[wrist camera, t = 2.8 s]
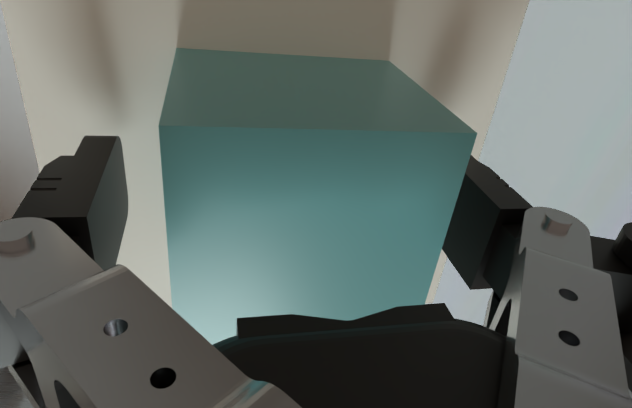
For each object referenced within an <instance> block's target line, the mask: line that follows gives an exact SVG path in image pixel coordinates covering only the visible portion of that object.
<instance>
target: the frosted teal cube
mask: <svg viewBox="0 0 632 408" xmlns="http://www.w3.org/2000/svg"><path fill="white" fill-rule="evenodd" d="M158 127H159V140H160V153H161V166H162V180H163V193H164V206H165V219H166V233H167V246H168V259H169V273H170V286H171V299H172V309H173V310H174V311H176V312H177V313H178V314H179V315H180V316H181V317H182V318H183V319H184V320H185V321H187V322H188V323H189V324H190V325H191V326H192V327H193V328H194V329H195V330H196V331H197V332H199V333H200V334H201V335H202V336H203V337H204V338H205V339H206V340H207V341H208V342H210V343H211V344H212V345H213V344H215V343H217V342H220V341H222V340H224V339H227V338H230V337H233V336H236V332H237V318H244V317H258V316H272V315H286V314H296V315H304V316H312V317H320V318H329V319H337V320H347V321H348V320H355V319H358V318H362V317H365V316H368V315H371V314H375V313H378V312H381V311H384V310H388V309H391V308H394V307H397V306H411V305H425V301H426V298H427V295H428V292H429V288H430V285H431V282H432V279H433V275H434V272H435V269H436V266H437V263H438V259H439V256H440V253H441V250H442V246H443V243H444V240H445V237H446V233H447V230H448V227H449V224H450V220H451V217H452V214H453V211H454V207H455V204H456V201H457V198H458V195H459V191H460V188H461V185H462V182H463V178H464V175H465V172H466V169H467V165H468V162H469V159H470V156H471V152H472V149H473V146H474V143H475V139H476V136H477V132H475V131H474V130H473V129H472V128H470V127H469V126H468V125H467V124H466V123H464V122H463V121H462V120H461V119H459V118H458V117H457V116H456V115H455V114H453V113H452V112H451V111H450V110H449V109H447V108H446V107H445V106H444V105H442V104H441V103H440V102H439V101H438V100H436V99H435V98H434V97H433V96H431V95H430V94H429V93H428V92H427V91H425V90H424V89H423V88H422V87H420V86H419V85H418V84H417V83H416V82H414V81H413V80H412V79H411V78H409V77H408V76H407V75H406V74H405V73H403V72H402V71H401V70H400V69H398V68H397V67H396V66H395V65H394V64H392V63H391V62H390V61H386V60H369V59H352V58H336V57H319V56H302V55H286V54H269V53H253V52H236V51H219V50H203V49H186V48H176V52H175V56H174V61H173V65H172V69H171V74H170V78H169V82H168V86H167V91H166V95H165V99H164V104H163V108H162V112H161V117H160V121H159V125H158Z"/></svg>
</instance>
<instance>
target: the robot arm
mask: <svg viewBox="0 0 632 408" xmlns="http://www.w3.org/2000/svg"><path fill="white" fill-rule="evenodd" d="M127 217H128V191H127V183H126V175H125V166H124V158H123V150H122V143H121V139H120V137H119V136H88V135H85V136H84V138H83V139H82V141H81V143H80V145H79V147H78V149H77V151H76V153H75V155H74V156H59V157H58V158H56V159H54V160H53V161H51V162H50V163H48V164H47V165H45V166H44V167H43V169H42V171H41V172H40V174H39V175H38V177H37V180H35V182H34V183H33V185H32V187H31V191H29V192H28V193H27V195H26V196H25V198H24V200H23V201H22V203H21V204H20V206H19V208H18V209H17V211H16V213H15V214H14V216H13V217H12V219H9V220H5V221H1V222H0V368H4V367H8V369H9V371H10V372H11V374H12V375H13V377H14V378H15V380H16V382H17V383H18V385H19V386H20V388H21V389H22V391H23V392H24V394H25V395H26V397H27V398H28V400H29V401H30V403H31V404H32V406H33V407H34V408H632V223H627V224H625V225H624V226H623V228H622V229H621V231H620V233H619V235H618V237H617V238H616V240H611V239H605V238H599V237H593V236H590V232H589V229H588V228H587V227H586V225H585V224H583V223H582V222H581V221H580V220H578V219H577V218H575V217H573V216H572V215H569V214H567V213H565V212H562V211H559V210H556V209H552V208H547V207H532V206H531V205H530V204H529V203H528V202H527V201H526V200H525V199H524V198H522V197H521V196H520V195H519V194H518V193H517V192H516V191H515V190H514V189H512V188H511V187H509V185H508V184H507V183H506V182H505V181H504V180H503V179H500V177H499V176H498V175H497V174H496V173H495V172H494V171H493V170H491V169H490V168H489V167H487V166H485V165H484V164H482V163H480V162H478V161H477V160H476V159H475V158H474V157H473V156H472V155H471V156H470V159H469V162H468V165H467V169H466V172H465V175H464V178H463V182H462V185H461V188H460V191H459V195H458V198H457V201H456V204H455V207H454V211H453V214H452V217H451V220H450V224H449V227H448V230H447V233H446V237H445V240H444V243H443V246H442V250H443V251H444V253H445V254H446V256H447V257H448V258H449V260H450V261H451V263H452V264H453V266H454V267H455V268H456V270H457V271H458V273H459V274H460V275H461V277H462V278H463V280H464V281H465V283H466V284H467V285H468V287H469V288H470V290H471V289H486V288H492V289H493V292H492V294H491V296H490V299H489V301H488V306H487V310H486V315H485V320H484V325H483V326H481V325H478V324H475V323H472V322H468V321H463V320H459V319H454V318H453V316H452V315H451V313H450V312H449V310H448V308H447V307H446V305H445V303H439V304H425V305H411V306H397V307H394V308H391V309H388V310H384V311H381V312H378V313H375V314H371V315H368V316H365V317H362V318H358V319H355V320H348V321H347V320H337V319H329V318H320V317H312V316H304V315H296V314H286V315H272V316H258V317H244V318H237V332H236V336H233V337H230V338H227V339H224V340H222V341H220V342H217V343H215V344H213V345H212V344H211V343H210V342H208V341H207V340H206V339H205V338H204V337H203V336H202V335H201V334H200V333H199V332H197V331H196V330H195V329H194V328H193V327H192V326H191V325H190V324H189V323H188V322H187V321H185V320H184V319H183V318H182V317H181V316H180V315H179V314H178V313H177V312H176V311H174V310H173V309H172V308H171V307H170V306H169V305H168V304H167V303H166V302H165V301H163V300H162V299H161V298H160V297H159V296H158V295H157V294H156V293H155V292H154V291H152V290H151V289H150V288H149V287H148V286H147V285H146V284H145V283H144V282H143V281H141V280H140V279H139V278H138V277H137V276H136V275H135V274H134V273H133V272H132V271H130V270H129V269H128V268H127V267H125V266H124V265H121V264H117V265H116V262H117V258H118V254H119V250H120V246H121V242H122V238H123V234H124V229H125V225H126V221H127Z"/></svg>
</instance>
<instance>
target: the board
mask: <svg viewBox="0 0 632 408" xmlns="http://www.w3.org/2000/svg"><path fill="white" fill-rule="evenodd" d="M0 3H1V7H2V11H3V16H4V20H5V24H6V29H7V33H8V37H9V42H10V46H11V50H12V55H13V59H14V63H15V68H16V72H17V76H18V81H19V85H20V89H21V94H22V98H23V102H24V107H25V111H26V115H27V120H28V124H29V128H30V133H31V137H32V141H33V146H34V150H35V155H36V159H37V163H38V168H39V172H41V171H42V169H43V167H44V166H45V165H47V164H48V163H50V162H51V161H53V160H54V159H56V158H58V157H59V156H74V155H75V153H76V151H77V149H78V147H79V145H80V143H81V141H82V139H83V138H84V136H85V135H88V136H119V137H120V139H121V143H122V150H123V158H124V166H125V175H126V183H127V191H128V217H127V221H126V225H125V229H124V234H123V238H122V242H121V246H120V250H119V254H118V258H117V262H116V265H117V264H121V265H124V266H125V267H127V268H128V269H129V270H130V271H132V272H133V273H134V274H135V275H136V276H137V277H138V278H139V279H140V280H141V281H143V282H144V283H145V284H146V285H147V286H148V287H149V288H150V289H151V290H152V291H154V292H155V293H156V294H157V295H158V296H159V297H160V298H161V299H162V300H163V301H165V302H166V303H167V304H168V305H169V306H170V307H171V308H172V299H171V286H170V273H169V259H168V246H167V233H166V219H165V206H164V193H163V180H162V166H161V153H160V140H159V127H158V125H159V121H160V117H161V112H162V108H163V104H164V99H165V95H166V91H167V86H168V82H169V78H170V74H171V69H172V65H173V61H174V56H175V52H176V48H186V49H203V50H219V51H236V52H253V53H269V54H286V55H302V56H319V57H336V58H352V59H369V60H386V61H390V62H391V63H392V64H394V65H395V66H396V67H397V68H398V69H400V70H401V71H402V72H403V73H405V74H406V75H407V76H408V77H409V78H411V79H412V80H413V81H414V82H416V83H417V84H418V85H419V86H420V87H422V88H423V89H424V90H425V91H427V92H428V93H429V94H430V95H431V96H433V97H434V98H435V99H436V100H438V101H439V102H440V103H441V104H442V105H444V106H445V107H446V108H447V109H449V110H450V111H451V112H452V113H453V114H455V115H456V116H457V117H458V118H459V119H461V120H462V121H463V122H464V123H466V124H467V125H468V126H469V127H470V128H472V129H473V130H474V131H475V132H477V136H476V139H475V143H474V146H473V149H472V152H471V155H472V156H473V157H474V158H475V159H476V160H477V161H478V160H479V156H480V153H481V150H482V147H483V144H484V141H485V138H486V135H487V132H488V128H489V125H490V122H491V119H492V116H493V113H494V110H495V107H496V103H497V100H498V97H499V94H500V91H501V88H502V85H503V82H504V78H505V75H506V72H507V69H508V66H509V63H510V60H511V57H512V53H513V50H514V47H515V44H516V41H517V38H518V35H519V32H520V29H521V25H522V22H523V19H524V16H525V13H526V10H527V7H528V4H529V0H0ZM446 260H447V256H446V254H445V253H444V251H443V250H441V253H440V256H439V259H438V263H437V266H436V269H435V272H434V275H433V279H432V282H431V285H430V288H429V292H428V295H427V298H426V301H425V303H433V300H434V297H435V294H436V291H437V288H438V284H439V281H440V278H441V275H442V272H443V269H444V266H445V263H446Z"/></svg>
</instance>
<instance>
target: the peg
mask: <svg viewBox="0 0 632 408" xmlns="http://www.w3.org/2000/svg"><path fill="white" fill-rule="evenodd" d="M0 408H34V407H33V406H32V404H31V403H30V401H29V400H28V398H27V397H26V395H25V394H24V392H23V391H22V389H21V388H20V386H19V385H18V383H17V382H16V380H15V378H14V377H13V375H12V374H11V372H10V371H9V369H8V367H4V368H0Z"/></svg>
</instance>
